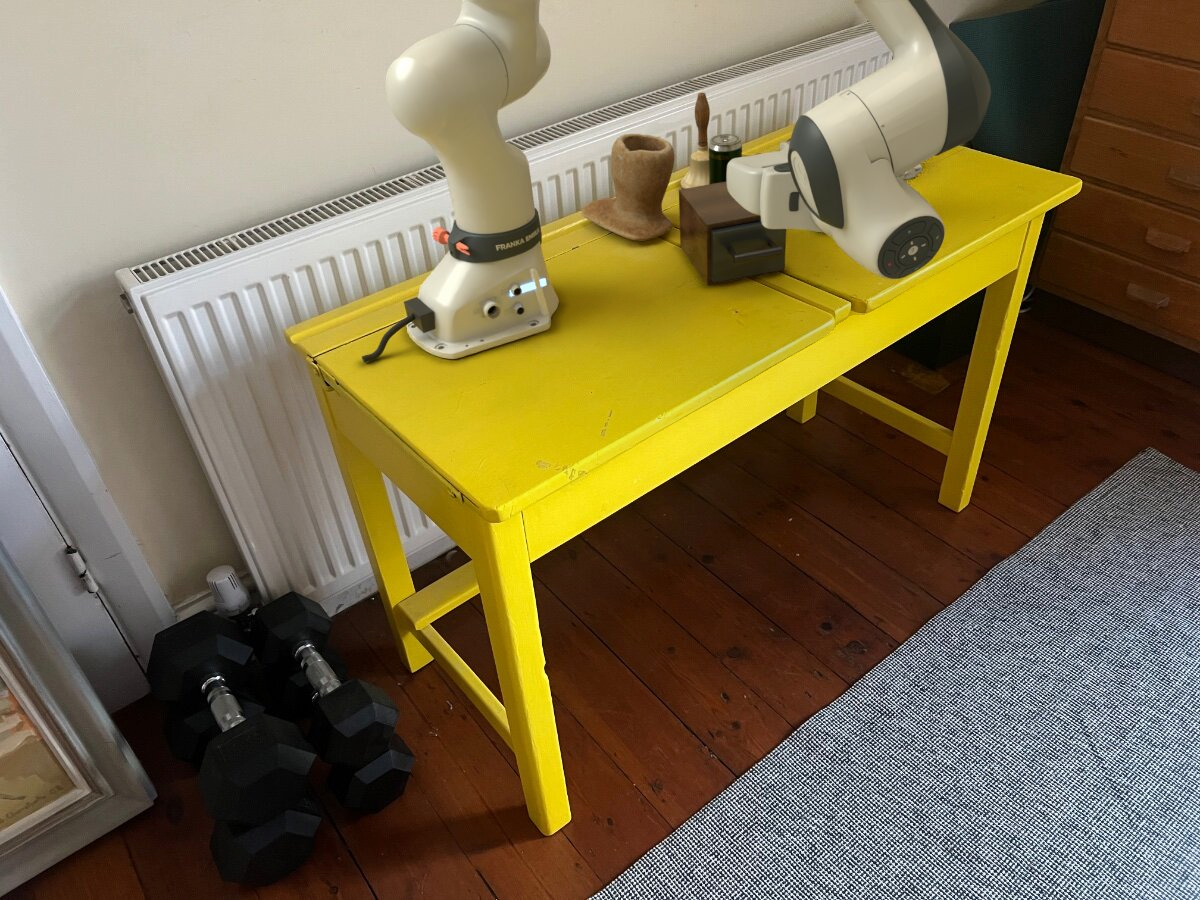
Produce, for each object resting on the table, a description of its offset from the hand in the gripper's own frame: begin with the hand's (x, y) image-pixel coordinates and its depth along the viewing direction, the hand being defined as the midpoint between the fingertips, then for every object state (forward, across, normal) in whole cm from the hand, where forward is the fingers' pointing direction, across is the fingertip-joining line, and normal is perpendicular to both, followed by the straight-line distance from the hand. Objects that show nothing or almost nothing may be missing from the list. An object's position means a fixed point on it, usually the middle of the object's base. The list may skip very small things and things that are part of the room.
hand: (791, 146), depth 109 cm
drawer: (+17, 0, +24) cm, 29 cm away
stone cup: (+38, +11, +25) cm, 47 cm away
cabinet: (+21, 0, +25) cm, 32 cm away
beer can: (+39, -5, +25) cm, 46 cm away
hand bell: (+51, -6, +25) cm, 57 cm away
